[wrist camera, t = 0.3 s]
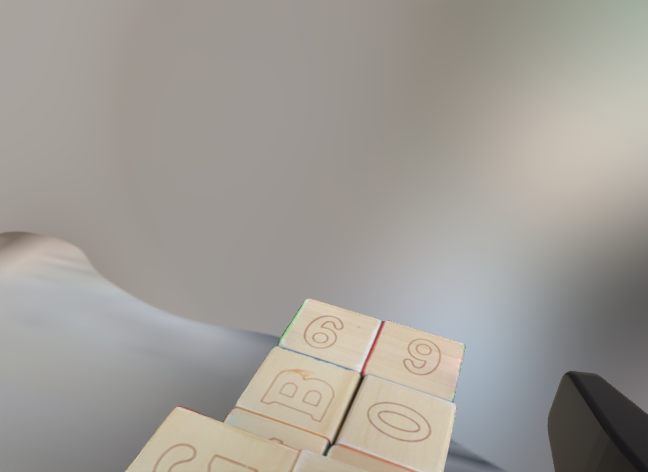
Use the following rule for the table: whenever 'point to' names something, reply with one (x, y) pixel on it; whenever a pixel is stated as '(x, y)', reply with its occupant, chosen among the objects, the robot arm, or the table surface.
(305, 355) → the stack of blocks
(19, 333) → the table surface
